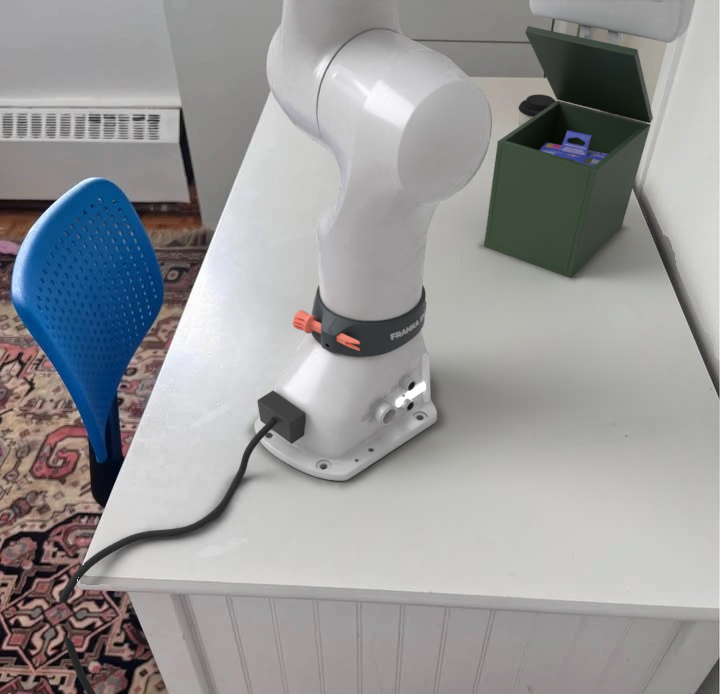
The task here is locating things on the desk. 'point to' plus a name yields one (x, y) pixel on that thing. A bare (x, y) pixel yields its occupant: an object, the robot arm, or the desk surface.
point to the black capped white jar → (533, 106)
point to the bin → (562, 187)
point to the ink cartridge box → (575, 149)
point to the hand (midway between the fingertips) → (594, 65)
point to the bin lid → (592, 73)
